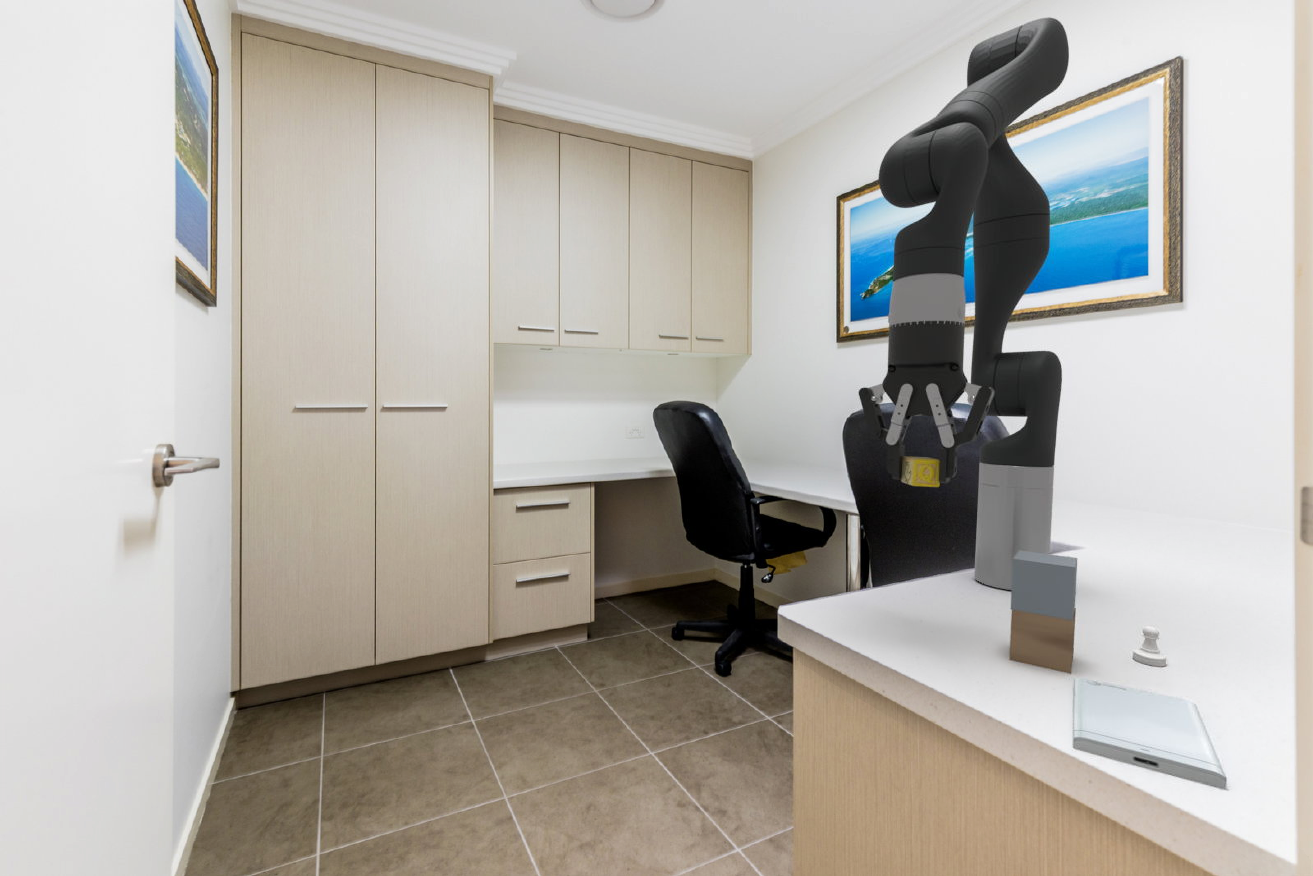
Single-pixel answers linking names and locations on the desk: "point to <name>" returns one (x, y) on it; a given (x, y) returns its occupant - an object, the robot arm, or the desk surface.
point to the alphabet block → (920, 471)
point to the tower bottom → (1042, 640)
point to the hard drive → (1144, 731)
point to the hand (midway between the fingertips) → (920, 479)
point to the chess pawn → (1150, 649)
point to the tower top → (1044, 584)
